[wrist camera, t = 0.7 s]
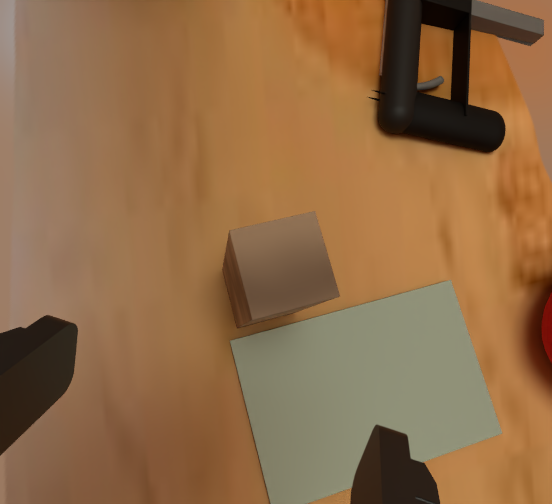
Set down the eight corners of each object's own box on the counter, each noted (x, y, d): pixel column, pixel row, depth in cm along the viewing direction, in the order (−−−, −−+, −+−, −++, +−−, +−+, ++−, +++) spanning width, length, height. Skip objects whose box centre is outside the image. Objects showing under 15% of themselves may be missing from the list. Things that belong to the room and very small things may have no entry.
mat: (229, 340, 33) (230, 340, 32) (446, 280, 36) (450, 280, 35) (272, 512, 31) (273, 515, 30) (497, 431, 34) (502, 433, 34)
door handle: (549, -40, 42) (391, -91, 39) (551, 157, 38) (373, 115, 35) (523, -13, 45) (375, -58, 42) (522, 171, 41) (357, 134, 38)
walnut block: (222, 269, 34) (229, 230, 22) (279, 255, 34) (315, 211, 23) (237, 328, 33) (252, 319, 21) (294, 312, 34) (339, 296, 22)
